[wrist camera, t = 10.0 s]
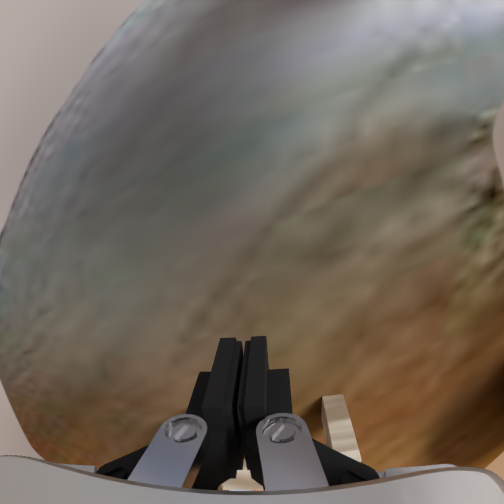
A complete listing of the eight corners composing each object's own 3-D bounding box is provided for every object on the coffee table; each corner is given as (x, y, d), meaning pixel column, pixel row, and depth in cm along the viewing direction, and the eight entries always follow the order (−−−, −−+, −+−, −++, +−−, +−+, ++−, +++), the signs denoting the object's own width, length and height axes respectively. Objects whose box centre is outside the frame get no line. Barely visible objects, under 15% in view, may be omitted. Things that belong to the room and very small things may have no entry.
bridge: (197, 401, 29) (178, 467, 20) (342, 393, 28) (361, 460, 20) (202, 422, 30) (186, 487, 21) (340, 415, 29) (356, 480, 20)
